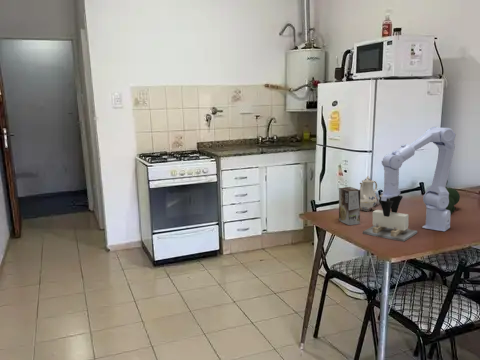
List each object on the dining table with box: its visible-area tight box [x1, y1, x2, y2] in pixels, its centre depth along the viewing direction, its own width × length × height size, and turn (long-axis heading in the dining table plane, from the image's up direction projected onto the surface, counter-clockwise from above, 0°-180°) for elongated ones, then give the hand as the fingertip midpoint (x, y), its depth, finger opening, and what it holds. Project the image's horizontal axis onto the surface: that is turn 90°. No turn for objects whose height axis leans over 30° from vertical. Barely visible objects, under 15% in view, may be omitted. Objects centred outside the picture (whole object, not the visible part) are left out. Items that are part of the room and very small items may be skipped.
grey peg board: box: [362, 224, 418, 243], centre depth 185 cm, size 18×14×4 cm
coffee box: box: [338, 186, 361, 226], centre depth 203 cm, size 9×6×16 cm
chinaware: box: [359, 175, 390, 212], centre depth 230 cm, size 28×17×17 cm, turn 129°
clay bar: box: [372, 209, 410, 230], centre depth 185 cm, size 14×4×6 cm, turn 47°
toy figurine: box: [445, 179, 461, 215], centre depth 215 cm, size 9×19×25 cm
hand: (390, 214), depth 184 cm, fingers open, 7 cm apart
